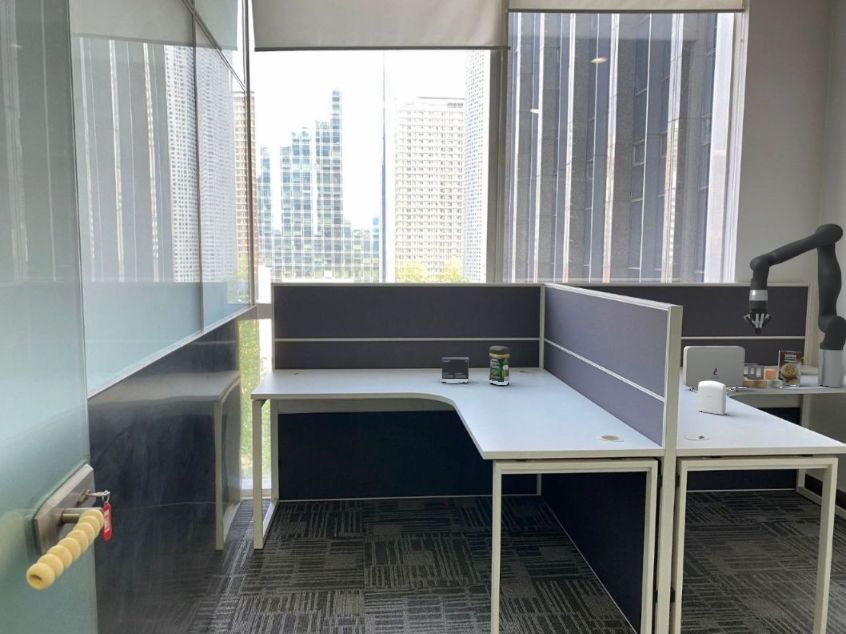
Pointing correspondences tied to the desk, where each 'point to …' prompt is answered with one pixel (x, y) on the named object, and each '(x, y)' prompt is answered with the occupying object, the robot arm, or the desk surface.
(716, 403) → the photo printer
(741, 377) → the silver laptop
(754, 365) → the square frames
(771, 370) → the block
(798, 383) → the coffee box
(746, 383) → the wooden cubby panel
